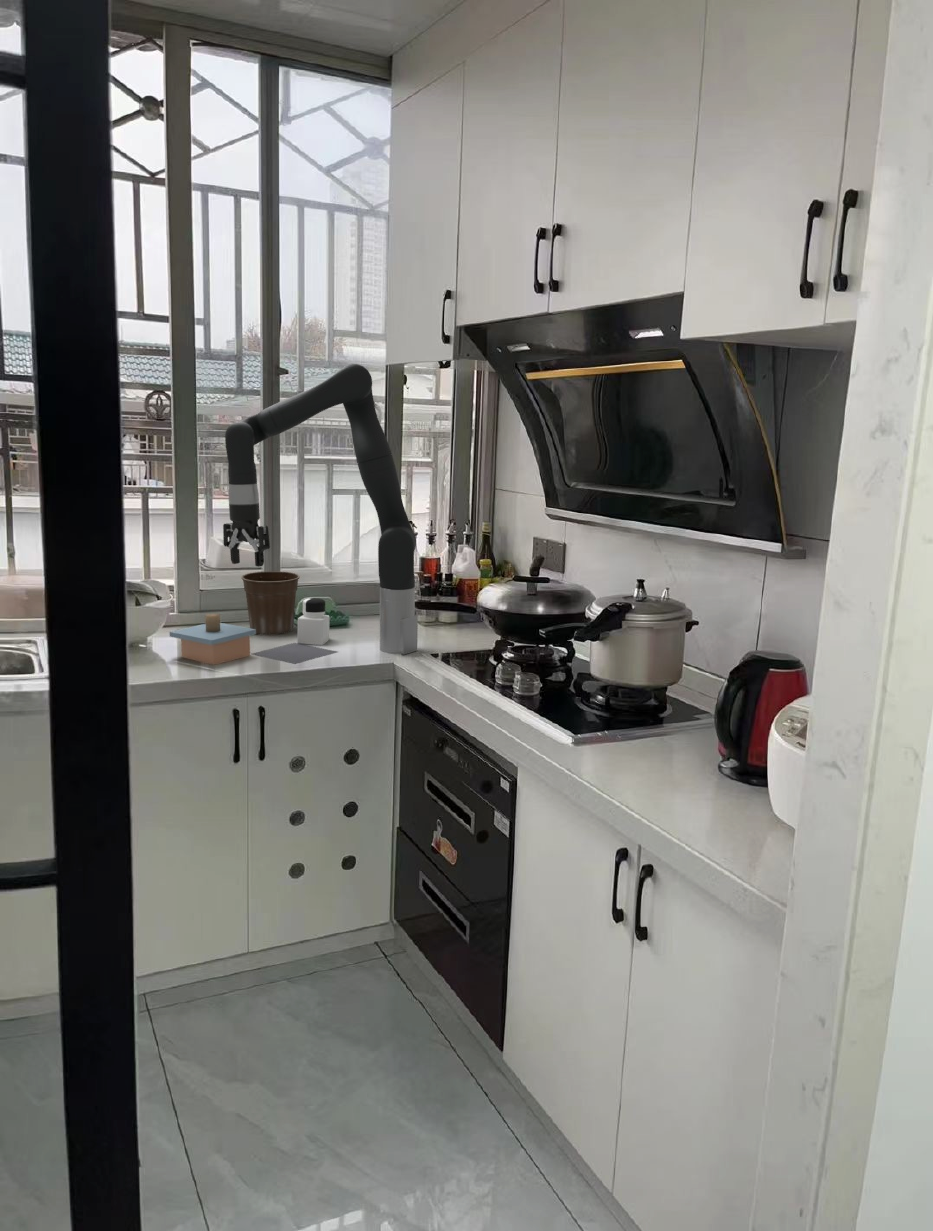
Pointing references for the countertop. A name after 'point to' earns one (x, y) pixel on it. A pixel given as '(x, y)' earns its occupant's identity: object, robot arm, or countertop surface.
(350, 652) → the countertop surface
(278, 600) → the plant pot
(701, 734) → the countertop surface
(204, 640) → the lid
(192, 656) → the square orange box
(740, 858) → the countertop surface
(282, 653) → the mat
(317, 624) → the medicine bottle
